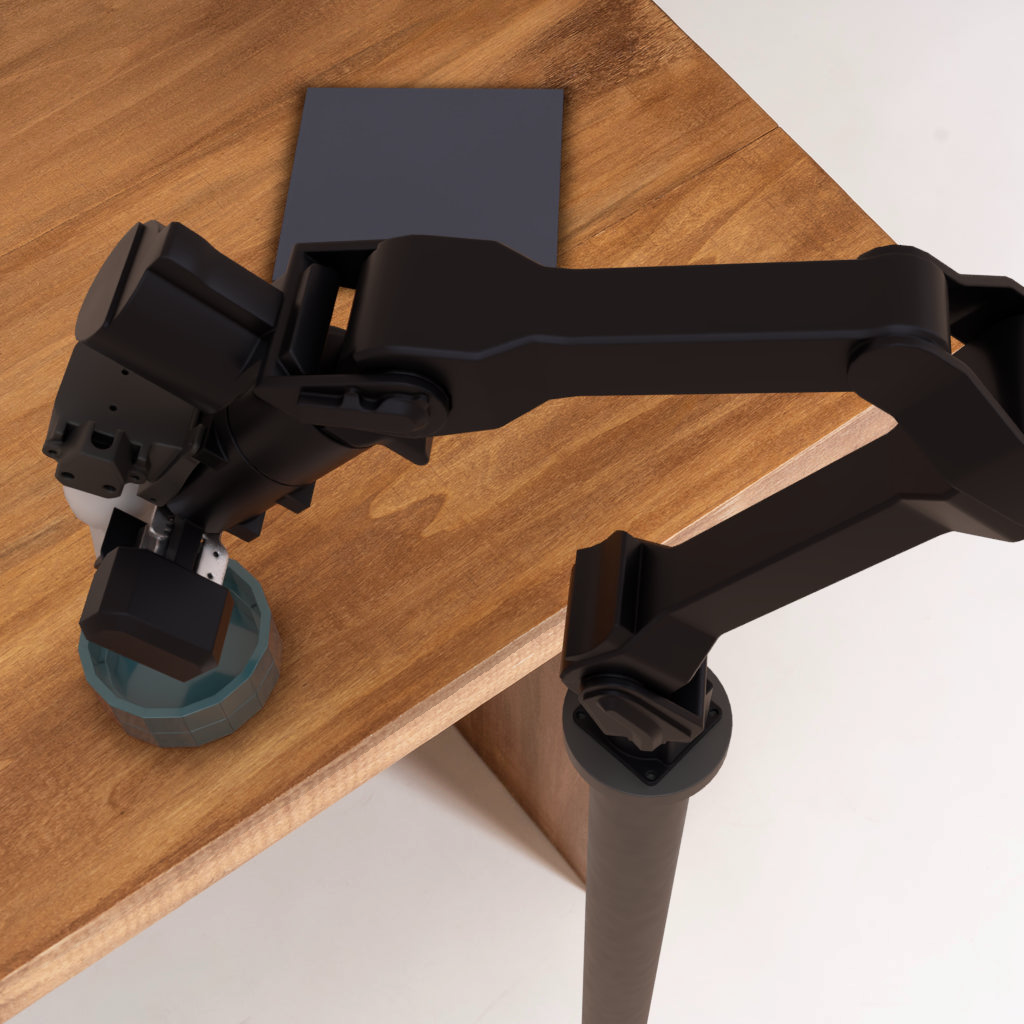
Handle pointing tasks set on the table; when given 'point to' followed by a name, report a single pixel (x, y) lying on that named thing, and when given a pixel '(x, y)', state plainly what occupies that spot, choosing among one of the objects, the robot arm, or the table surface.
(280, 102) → the table surface
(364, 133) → the cloth
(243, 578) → the blue-grey round bowl
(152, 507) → the salt shaker
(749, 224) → the table surface
